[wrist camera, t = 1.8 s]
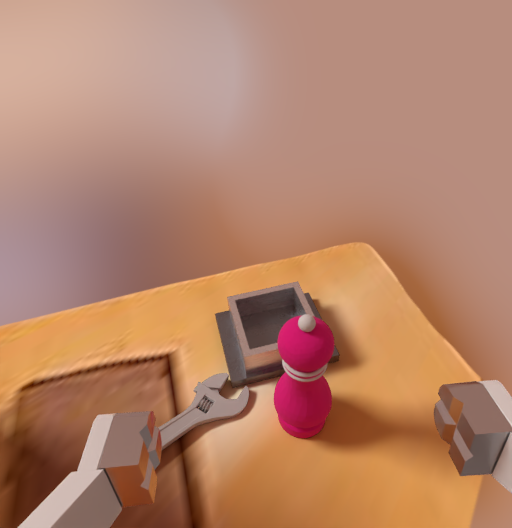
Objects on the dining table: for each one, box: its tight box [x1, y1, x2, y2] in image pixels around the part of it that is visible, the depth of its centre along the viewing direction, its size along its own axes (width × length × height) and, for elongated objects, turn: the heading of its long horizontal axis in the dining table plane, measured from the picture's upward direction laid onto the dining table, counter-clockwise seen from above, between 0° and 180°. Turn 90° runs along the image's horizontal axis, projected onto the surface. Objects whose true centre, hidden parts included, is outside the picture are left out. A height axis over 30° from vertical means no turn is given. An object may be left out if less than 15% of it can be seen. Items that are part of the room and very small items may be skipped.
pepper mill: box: [274, 314, 334, 438], centre depth 47 cm, size 7×7×20 cm
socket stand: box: [215, 282, 339, 388], centre depth 61 cm, size 16×13×6 cm
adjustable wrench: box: [159, 373, 249, 450], centre depth 51 cm, size 25×6×2 cm, turn 124°
